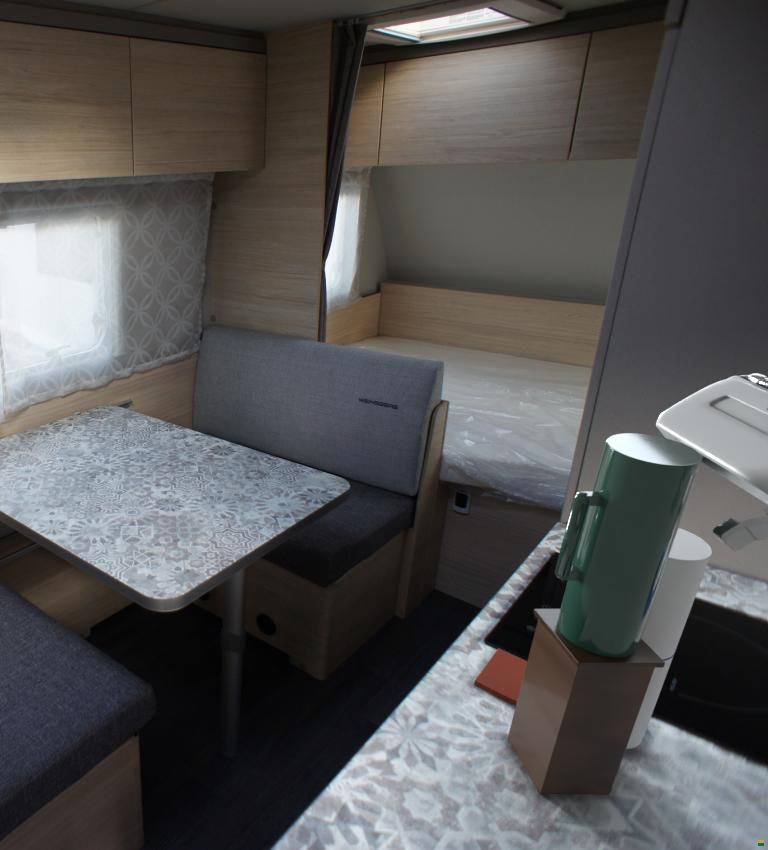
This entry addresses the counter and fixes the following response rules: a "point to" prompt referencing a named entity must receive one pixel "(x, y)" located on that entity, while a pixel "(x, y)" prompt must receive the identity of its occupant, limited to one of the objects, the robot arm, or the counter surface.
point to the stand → (576, 711)
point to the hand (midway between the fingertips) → (682, 511)
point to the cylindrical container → (670, 615)
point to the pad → (503, 676)
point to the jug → (622, 541)
